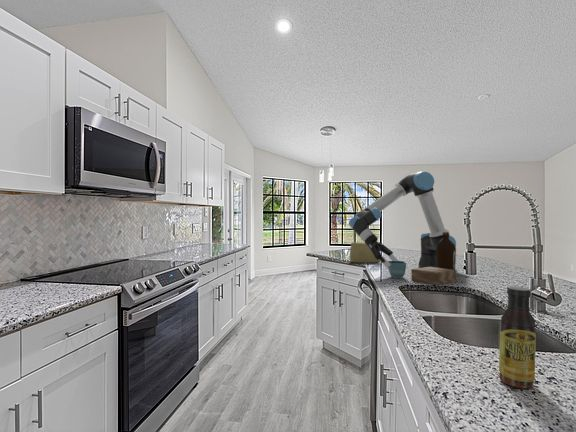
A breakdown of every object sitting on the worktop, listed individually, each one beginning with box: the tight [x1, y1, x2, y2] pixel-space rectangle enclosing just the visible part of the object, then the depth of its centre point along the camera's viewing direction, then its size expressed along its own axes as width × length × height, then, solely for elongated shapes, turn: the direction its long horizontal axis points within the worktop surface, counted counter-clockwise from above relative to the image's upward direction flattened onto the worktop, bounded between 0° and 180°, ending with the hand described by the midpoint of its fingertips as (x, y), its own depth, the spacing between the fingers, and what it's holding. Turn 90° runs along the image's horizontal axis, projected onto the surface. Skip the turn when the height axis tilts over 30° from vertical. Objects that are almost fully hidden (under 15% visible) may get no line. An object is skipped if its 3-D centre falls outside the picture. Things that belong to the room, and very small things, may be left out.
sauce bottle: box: [498, 285, 537, 389], centre depth 72 cm, size 7×6×20 cm
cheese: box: [349, 242, 381, 263], centre depth 264 cm, size 22×10×15 cm, turn 79°
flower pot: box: [387, 260, 407, 279], centre depth 196 cm, size 9×9×9 cm
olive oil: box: [436, 232, 457, 270], centre depth 200 cm, size 11×11×25 cm
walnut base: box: [410, 267, 458, 286], centre depth 185 cm, size 16×16×6 cm
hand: (393, 265), depth 196 cm, fingers open, 13 cm apart
